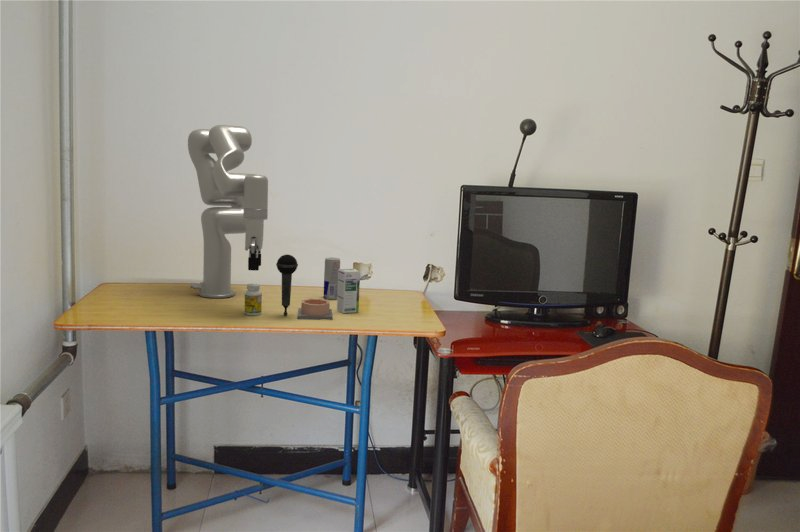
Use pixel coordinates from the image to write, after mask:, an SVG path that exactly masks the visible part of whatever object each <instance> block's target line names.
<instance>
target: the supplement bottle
mask: <svg viewBox="0 0 800 532" xmlns="http://www.w3.org/2000/svg"><path fill="white" fill-rule="evenodd" d="M260 287H261V285H260V284H258V283H248V284H246V289H247V290H245V292H244V314H245V315H246V316H259V315H262V310H263V309H262V304H263V303H262V301H263V300H262V299H263V298H262V295H263V294H262V291H261V290H260V289H261V288H260Z"/></svg>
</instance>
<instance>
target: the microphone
mask: <svg viewBox="0 0 800 532" xmlns="http://www.w3.org/2000/svg"><path fill="white" fill-rule="evenodd" d="M275 265H276V268H277V270H278V272H279V273H280V274H281V306H282V308H284V311H283V315H284V316H286V317H287V315H288V311H287V310H288V308H289V307H290V306H291V294H292V278H293V277H292V276H293V274H294V273H295V272H296V271H297V270H298V269H297V268H298V266H299V263H298V261H297V258H296V257H294V256H293V255H291V254H283V255H281V256H280V257H279V258H278V259H277V262H276V264H275Z"/></svg>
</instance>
